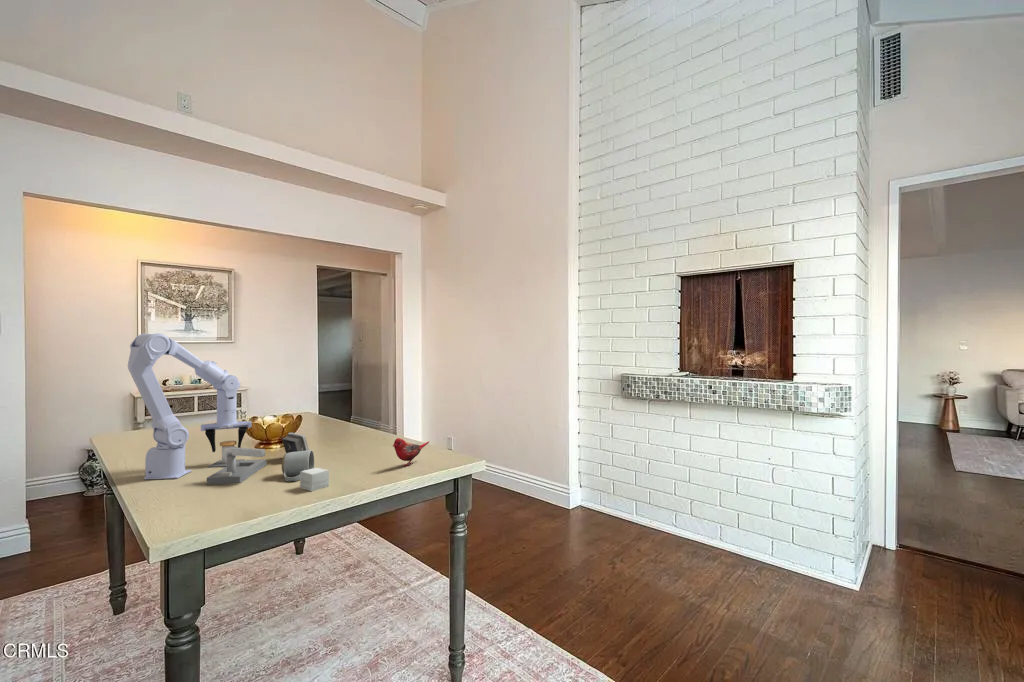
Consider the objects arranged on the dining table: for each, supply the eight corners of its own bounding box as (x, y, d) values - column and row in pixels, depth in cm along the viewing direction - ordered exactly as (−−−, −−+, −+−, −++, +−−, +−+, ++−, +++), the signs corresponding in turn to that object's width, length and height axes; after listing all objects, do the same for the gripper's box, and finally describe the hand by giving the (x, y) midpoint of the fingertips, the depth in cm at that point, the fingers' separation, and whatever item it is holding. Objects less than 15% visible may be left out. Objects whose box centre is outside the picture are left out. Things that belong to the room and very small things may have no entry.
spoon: (231, 453, 143) (231, 446, 143) (266, 455, 140) (266, 448, 140) (224, 455, 140) (224, 448, 140) (259, 457, 138) (259, 450, 138)
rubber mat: (207, 467, 154) (207, 466, 154) (219, 461, 162) (219, 460, 162) (233, 466, 155) (233, 465, 155) (244, 460, 163) (244, 459, 163)
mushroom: (219, 465, 155) (219, 444, 155) (219, 462, 159) (219, 441, 159) (236, 463, 157) (236, 442, 157) (236, 460, 162) (236, 440, 162)
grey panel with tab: (206, 484, 136) (206, 459, 136) (237, 466, 156) (237, 444, 156) (239, 483, 137) (239, 458, 137) (266, 465, 157) (266, 443, 157)
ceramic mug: (287, 472, 148) (287, 448, 148) (314, 471, 150) (314, 447, 150) (277, 483, 138) (277, 457, 138) (307, 481, 140) (306, 456, 139)
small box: (329, 486, 135) (329, 469, 135) (311, 492, 130) (311, 474, 130) (317, 483, 138) (317, 466, 138) (299, 488, 133) (299, 471, 133)
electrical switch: (311, 459, 165) (309, 433, 164) (298, 464, 160) (295, 437, 159) (296, 456, 170) (293, 430, 169) (282, 460, 165) (279, 434, 165)
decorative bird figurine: (389, 469, 152) (389, 439, 152) (426, 458, 167) (426, 430, 167) (395, 471, 150) (395, 440, 150) (432, 459, 165) (432, 431, 165)
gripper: (199, 413, 152) (199, 455, 152) (250, 410, 158) (250, 450, 158) (202, 410, 158) (202, 450, 158) (251, 407, 164) (251, 446, 164)
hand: (226, 450), depth 158 cm, fingers open, 7 cm apart
